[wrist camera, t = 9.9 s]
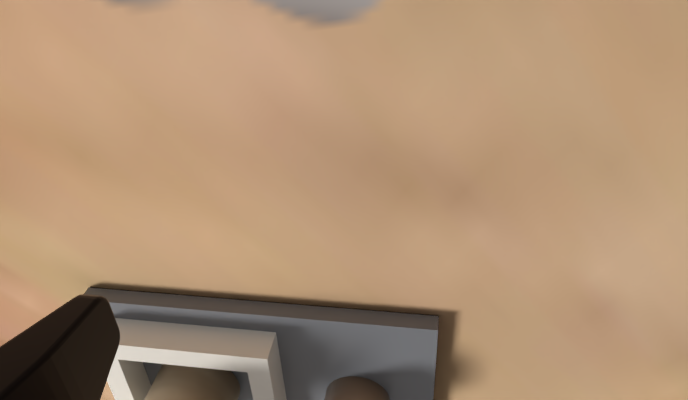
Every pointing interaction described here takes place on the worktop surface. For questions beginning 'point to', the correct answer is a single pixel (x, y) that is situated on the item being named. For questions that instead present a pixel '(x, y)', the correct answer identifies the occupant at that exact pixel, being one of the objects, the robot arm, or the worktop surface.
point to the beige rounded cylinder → (193, 384)
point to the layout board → (273, 347)
